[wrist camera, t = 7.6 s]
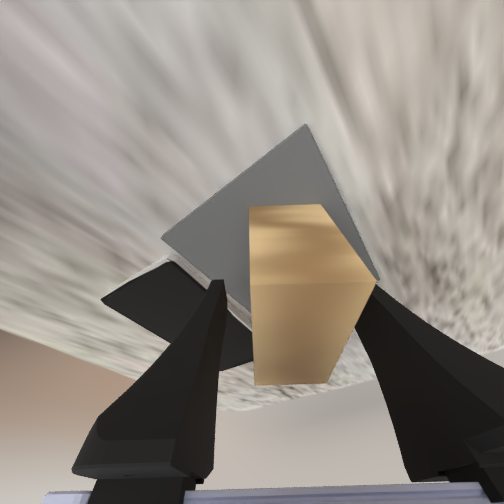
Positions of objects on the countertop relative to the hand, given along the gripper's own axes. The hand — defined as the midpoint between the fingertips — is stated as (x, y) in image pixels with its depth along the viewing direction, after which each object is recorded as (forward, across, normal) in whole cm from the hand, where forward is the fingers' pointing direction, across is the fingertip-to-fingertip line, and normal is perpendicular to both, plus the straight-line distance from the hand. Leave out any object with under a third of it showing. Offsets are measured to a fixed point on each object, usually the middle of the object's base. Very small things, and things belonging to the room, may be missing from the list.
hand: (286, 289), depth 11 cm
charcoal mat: (+3, 0, 0) cm, 3 cm away
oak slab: (+3, 0, 0) cm, 3 cm away
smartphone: (+4, +7, +8) cm, 11 cm away
